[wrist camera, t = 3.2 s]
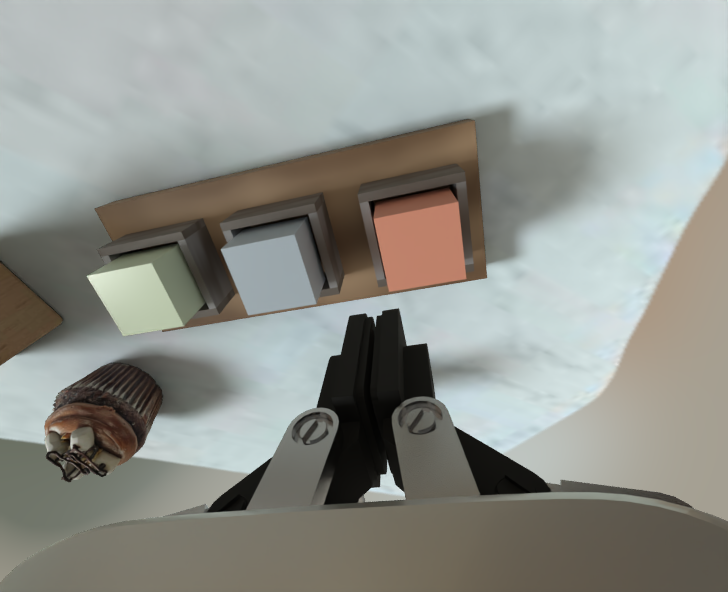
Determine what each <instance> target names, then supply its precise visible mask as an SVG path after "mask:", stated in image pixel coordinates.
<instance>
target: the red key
mask: <svg viewBox="0 0 728 592" xmlns="http://www.w3.org/2000/svg"><path fill="white" fill-rule="evenodd" d="M374 224H375V228H376V233H377V238H378V242H379V247H380V252H381V256H382V261H383V266H384V271H385V275H386V280H387V285H388V289H389V292H392V291H398V290H404V289H410V288H416V287H422V286H428V285H434V284H439V283H445V282H451V281H457V280H463V279H466V271H465V261H464V252H463V242H462V233H461V223H460V214H459V204H458V201H457V199H456V198H455V196H454V195H453V193H452V192H451V190H450V189H449V188H444V189H439V190H434V191H429V192H424V193H419V194H415V195H410V196H405V197H400V198H395V199H390V200H385V201H381V202H376V205H375V212H374Z"/></svg>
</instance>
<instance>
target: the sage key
mask: <svg viewBox="0 0 728 592" xmlns="http://www.w3.org/2000/svg"><path fill="white" fill-rule="evenodd" d="M87 278H88V279H89V281H90V283H91V284H92V286H93V287H94V289H95V291H96V292H97V294H98V296H99V297H100V299H101V300H102V302H103V304H104V305H105V307H106V309H107V310H108V312H109V313H110V315H111V317H112V318H113V320H114V322H115V323H116V325H117V326H118V328H119V330H120V331H121V333H122V335H123V336H128V335H134V334H140V333H146V332H152V331H158V330H164V329H170V328H176V327H182V326H185V325H186V323H187V322H188V321H189V320H190V319H191V318H192V317H193V316H194V315H195V314H196V313H197V311H198V310H199V309H200V308H201V307H202V306H203V305H204V304H205V303H206V301H205V299H204V297H203V295H202V293H201V291H200V288H199V286H198V284H197V282H196V280H195V278H194V276H193V274H192V271H191V269H190V267H189V265H188V263H187V261H186V259H185V257H184V254H183V252H182V250H181V248H180V246H179V244H178V243H177V244H172V245H167V246H162V247H158V248H153V249H148V250H143V251H138V252H133V253H129V254H124V255H122V256H120V257H119V258H117V259H115V260H113V261H112V262H110V263H108V264H106V265H105V266H103V267H101V268H100V269H98V270H96V271H94V272H93V273H91V274H89V275H87Z"/></svg>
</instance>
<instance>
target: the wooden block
mask: <svg viewBox="0 0 728 592" xmlns="http://www.w3.org/2000/svg"><path fill="white" fill-rule="evenodd" d="M62 321H63V319H62V318H61V317H60V316H59V315H58V314H57V313H56V312H55V311H54V310H53V309H52V308H50V307H49V306H48V305H47V304H46V303H45V302H44V301H43V300H42V299H41V298H39V297H38V296H37V295H36V294H35V293H34V292H33V291H32V290H31V289H30V288H28V287H27V286H26V285H25V284H24V283H23V282H22V281H21V280H20V279H18V278H17V277H16V276H15V275H14V274H13V273H12V272H11V271H10V270H9V269H7V268H6V267H5V266H4V265H3V264H2V263H1V262H0V365H2V364H3V363H5V362H6V361H8V360H9V359H11V358H12V357H13V356H15V355H16V354H18V353H19V352H21V351H22V350H24V349H25V348H27V347H28V346H30V345H31V344H33V343H34V342H35V341H37V340H38V339H40V338H41V337H43V336H44V335H46V334H47V333H49V332H50V331H52V330H53V329H55V328H56V327H57V326H59V325H60V324H61V323H62Z"/></svg>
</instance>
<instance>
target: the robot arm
mask: <svg viewBox="0 0 728 592" xmlns="http://www.w3.org/2000/svg"><path fill="white" fill-rule="evenodd" d="M387 460H388V463H389V467H390V471H391V473H392V474H393V477H394V481H395V484H396V486H398V487H399V488H400V489H401V490H402V491H404V492H405V498H406V500H394V501H378V502H365V498H364V494H365V493H366V492H367V491H368V490H369V489H370V488H374V487H380V475H381V474H386V473H387ZM0 592H728V521H726V520H724V519H721V518H719V517H716V516H713V515H711V514H708V513H705V512H702V511H699V510H696V509H694V508H692V506H690V505H689V504H687V503H685V502H684V501H682V500H680V499H678V498H676V497H674V496H670V495H666V494H663V493H658V492H650V491H643V490H636V489H627V488H620V487H613V486H612V487H611V486H604V485H597V484H590V483H582V482H574V481H566V480H561V482H560V485H558V484H550V483H545V481H544V480H543V479H541V478H540V477H539V476H537V475H536V474H535V473H533V472H532V471H530V470H528V469H526V468H525V467H523V466H521V465H520V464H518V463H516V462H515V461H513V460H511V459H510V458H508V457H506V456H504V455H503V454H501V453H499V452H498V451H496V450H494V449H492V448H491V447H489V446H487V445H486V444H484V443H482V442H480V441H479V440H477V439H475V438H474V437H472V436H470V435H469V434H467V433H465V432H463V431H462V430H460V429H458V428H457V427H455V426H454V425H453V422H452V420H451V417H450V414H449V412H448V410H447V408H446V407H445V405H444V404H443V403H441V402H440V401H439V400H436V399H435V392H434V384H433V377H432V371H431V365H430V359H429V353H428V347H427V343H426V344H418V345H411V346H407V345H406V340H405V335H404V330H403V325H402V321H401V316H400V311H399V308H398V309H392V310H385V311H382V315H380V316H377V319H376V327H375V323H374V319H373V317H367V315H366V313H365V314H359V315H352V316H349V320H348V325H347V329H346V334H345V338H344V343H343V347H342V352H341V355H336V356H331V357H330V359H329V362H328V366H327V370H326V374H325V378H324V381H323V385H322V389H321V393H320V397H319V400H318V404H317V408H313V409H310V410H308V411H305V412H303V413H302V414H300V415H298V416H297V417H296V418H295V419H294V420H293V421H292V422H291V423H290V425H289V426H288V428H287V430H286V432H285V434H284V436H283V438H282V440H281V442H280V444H279V446H278V448H277V450H276V452H275V454H274V456H273V457H272V458H270V459H269V460H268V461H266V462H265V463H264V464H262V465H261V466H260V467H259V468H257V469H256V470H255V471H253V472H252V473H251V474H249V475H248V476H247V477H245V478H244V479H243V480H242V481H240V482H239V483H237V484H236V485H235V486H233V487H232V488H231V489H229V490H228V491H227V492H225V493H224V494H223V495H221V496H220V497H219V498H218V499H217V500H216V501H215V502H214V503H213V504H212V506H211V507H210V508H208V507H207V505H206V504H204V505H201V506H197V507H194V508H191V509H187V510H184V511H180V512H177V513H174V514H170V515H167V516H163V517H155V518H146V519H139V520H131V521H123V522H119V523H114V524H109V525H104V526H100V527H97V528H93V529H90V530H87V531H83V532H80V533H78V534H75V535H72V536H70V537H68V538H66V539H64V540H61V541H58V542H56V543H54V544H52V545H50V546H48V547H46V548H44V549H42V550H41V551H39V552H37V553H35V554H34V555H32V556H30V557H29V558H27V559H26V560H24V561H23V562H22V563H21V564H19V565H18V566H17V567H15V568H14V569H13V570H12V571H11V572H10V573H9V574H8V575H7V576H6V577H5V578H4V579H3V580H2V581H1V582H0Z"/></svg>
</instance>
